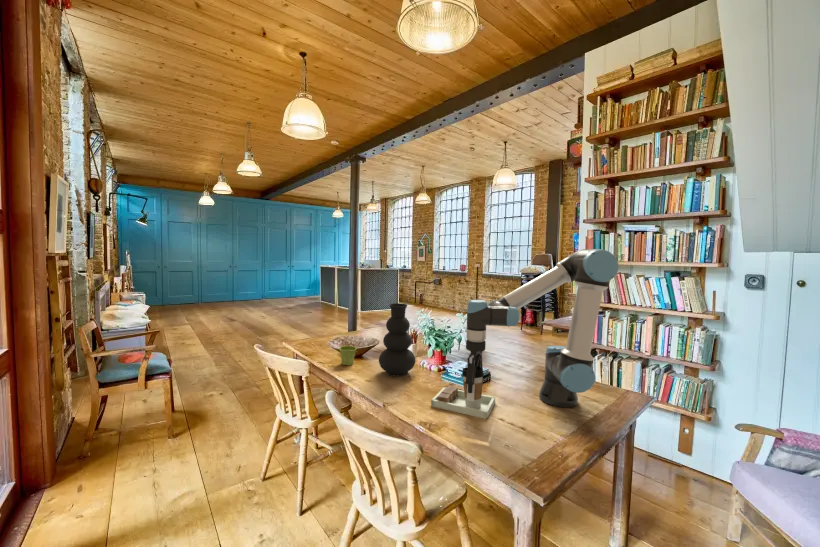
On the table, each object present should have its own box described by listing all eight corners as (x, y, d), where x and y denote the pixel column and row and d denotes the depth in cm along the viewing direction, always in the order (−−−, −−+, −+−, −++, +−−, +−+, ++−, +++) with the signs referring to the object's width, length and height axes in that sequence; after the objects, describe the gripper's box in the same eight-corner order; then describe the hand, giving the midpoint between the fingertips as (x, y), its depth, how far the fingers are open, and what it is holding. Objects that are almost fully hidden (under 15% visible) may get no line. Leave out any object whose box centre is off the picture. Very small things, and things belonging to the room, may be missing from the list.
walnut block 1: (449, 404, 140) (450, 394, 139) (447, 408, 136) (447, 398, 136) (440, 402, 141) (440, 392, 141) (437, 406, 137) (437, 396, 137)
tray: (494, 405, 142) (495, 397, 141) (486, 421, 128) (486, 412, 128) (443, 394, 151) (444, 386, 151) (431, 408, 137) (431, 400, 137)
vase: (402, 382, 163) (404, 309, 161) (371, 375, 172) (372, 305, 170) (421, 371, 179) (423, 304, 177) (391, 365, 188) (392, 300, 186)
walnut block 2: (453, 399, 144) (453, 390, 143) (450, 403, 140) (450, 393, 140) (444, 397, 145) (444, 388, 145) (441, 401, 142) (441, 392, 141)
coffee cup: (484, 410, 133) (483, 371, 133) (461, 409, 135) (461, 370, 135) (483, 402, 141) (483, 365, 141) (462, 401, 143) (462, 365, 143)
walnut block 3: (457, 396, 147) (457, 387, 147) (454, 400, 144) (454, 390, 143) (448, 394, 149) (448, 385, 149) (445, 398, 145) (445, 388, 145)
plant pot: (350, 360, 195) (351, 344, 195) (359, 364, 188) (359, 348, 187) (335, 363, 189) (335, 347, 189) (344, 367, 182) (344, 351, 181)
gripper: (473, 332, 148) (471, 384, 149) (458, 345, 128) (456, 404, 129) (491, 334, 144) (489, 387, 146) (478, 347, 124) (476, 408, 126)
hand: (473, 395), depth 137 cm, fingers open, 9 cm apart
